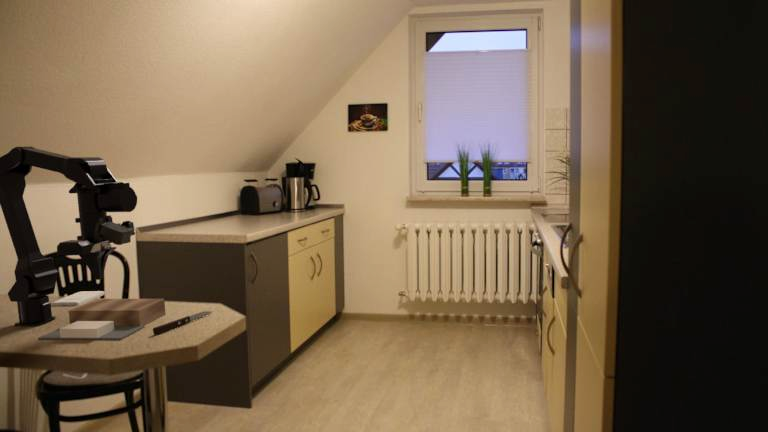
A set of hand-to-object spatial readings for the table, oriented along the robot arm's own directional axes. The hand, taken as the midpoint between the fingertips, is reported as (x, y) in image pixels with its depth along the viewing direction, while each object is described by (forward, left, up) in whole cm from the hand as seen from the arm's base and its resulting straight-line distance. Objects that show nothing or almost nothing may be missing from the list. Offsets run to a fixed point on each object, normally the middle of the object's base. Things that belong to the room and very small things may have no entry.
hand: (99, 279), depth 143 cm
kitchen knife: (+20, +1, -12) cm, 23 cm away
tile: (+1, -8, -9) cm, 12 cm away
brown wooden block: (+1, +4, -11) cm, 12 cm away
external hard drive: (-25, +25, -12) cm, 37 cm away
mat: (+1, -6, -11) cm, 13 cm away
